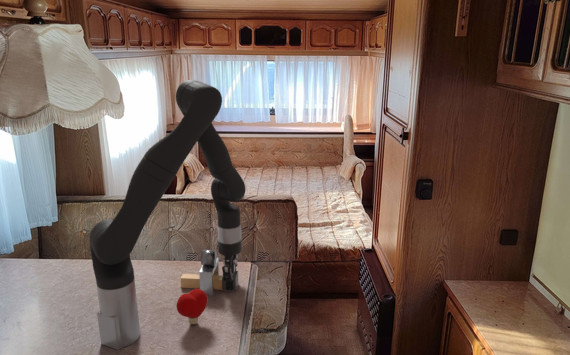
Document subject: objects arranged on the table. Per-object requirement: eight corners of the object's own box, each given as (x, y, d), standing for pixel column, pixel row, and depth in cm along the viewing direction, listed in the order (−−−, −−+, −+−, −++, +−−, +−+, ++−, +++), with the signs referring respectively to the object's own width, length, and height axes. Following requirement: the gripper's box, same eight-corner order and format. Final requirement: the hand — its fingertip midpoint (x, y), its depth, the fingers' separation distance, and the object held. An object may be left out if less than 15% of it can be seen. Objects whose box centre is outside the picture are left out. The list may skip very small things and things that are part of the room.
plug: (180, 288, 139) (179, 275, 138) (184, 281, 144) (183, 268, 142) (235, 291, 138) (235, 277, 137) (238, 284, 143) (237, 270, 141)
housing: (200, 294, 136) (198, 257, 133) (208, 278, 146) (206, 243, 142) (212, 294, 136) (211, 258, 132) (219, 278, 146) (218, 244, 142)
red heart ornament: (200, 311, 127) (198, 282, 124) (214, 322, 122) (212, 291, 120) (172, 325, 121) (170, 294, 118) (186, 336, 116) (183, 304, 113)
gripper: (237, 248, 128) (238, 297, 133) (244, 229, 142) (245, 275, 147) (212, 247, 129) (214, 296, 134) (222, 228, 143) (224, 274, 147)
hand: (231, 285), depth 140 cm, fingers closed on plug, 4 cm apart
